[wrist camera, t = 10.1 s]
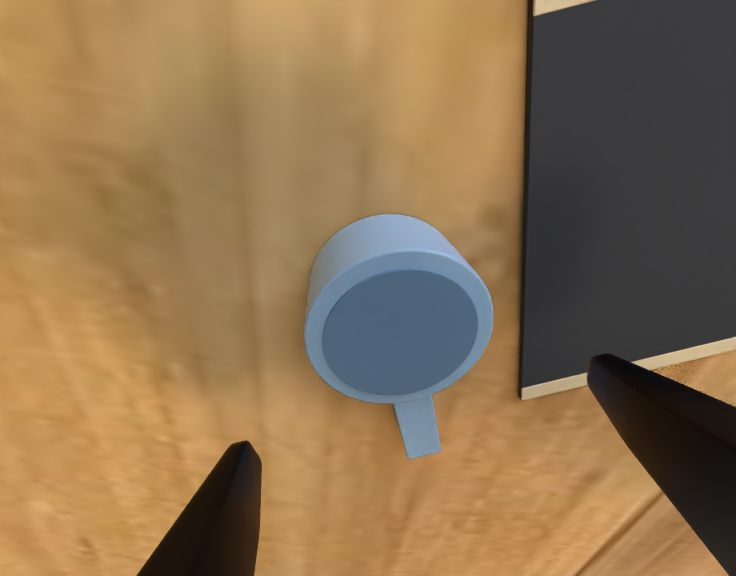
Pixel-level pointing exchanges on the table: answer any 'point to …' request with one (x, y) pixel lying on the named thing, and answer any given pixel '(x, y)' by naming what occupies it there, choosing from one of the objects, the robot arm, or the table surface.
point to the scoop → (395, 319)
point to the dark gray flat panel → (627, 186)
